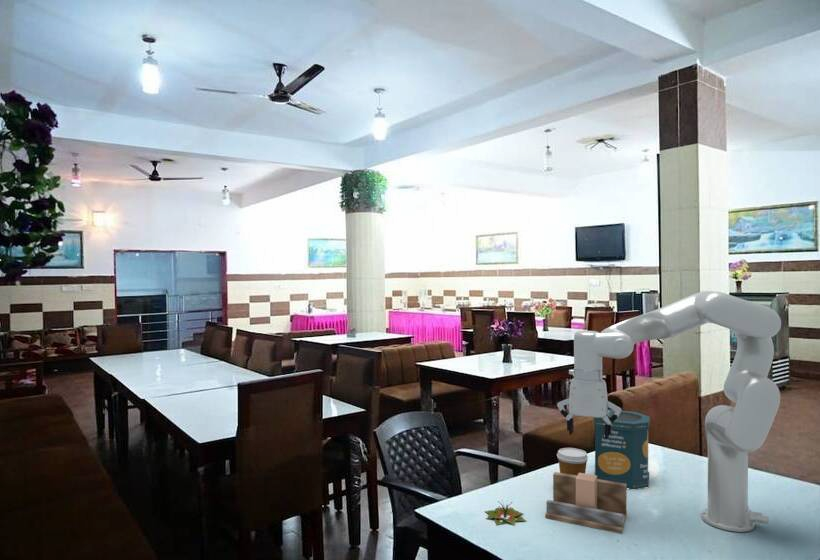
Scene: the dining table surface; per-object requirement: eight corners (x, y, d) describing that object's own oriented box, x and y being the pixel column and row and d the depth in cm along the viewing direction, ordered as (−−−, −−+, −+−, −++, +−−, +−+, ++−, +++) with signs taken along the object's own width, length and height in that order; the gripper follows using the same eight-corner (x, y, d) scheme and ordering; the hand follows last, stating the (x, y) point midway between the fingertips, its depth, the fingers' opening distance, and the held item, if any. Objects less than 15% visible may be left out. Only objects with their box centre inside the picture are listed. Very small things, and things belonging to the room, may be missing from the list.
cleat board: (626, 514, 153) (626, 482, 153) (621, 533, 141) (621, 499, 141) (555, 500, 162) (555, 470, 162) (545, 517, 151) (545, 485, 150)
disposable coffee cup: (582, 498, 163) (582, 459, 163) (551, 491, 169) (552, 453, 169) (592, 489, 171) (592, 451, 171) (563, 482, 177) (563, 445, 177)
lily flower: (493, 530, 144) (493, 513, 144) (477, 511, 156) (477, 495, 156) (534, 525, 147) (534, 508, 147) (515, 507, 159) (515, 491, 159)
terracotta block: (594, 517, 148) (594, 481, 148) (575, 514, 151) (575, 478, 151) (597, 510, 153) (597, 475, 153) (578, 507, 155) (578, 472, 155)
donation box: (599, 467, 190) (600, 388, 190) (649, 475, 183) (650, 392, 183) (593, 483, 175) (593, 397, 175) (647, 492, 168) (648, 402, 168)
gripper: (554, 375, 152) (555, 435, 153) (619, 379, 145) (620, 443, 145) (559, 370, 159) (560, 428, 159) (622, 374, 151) (623, 435, 152)
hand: (588, 435), depth 152 cm, fingers open, 9 cm apart
